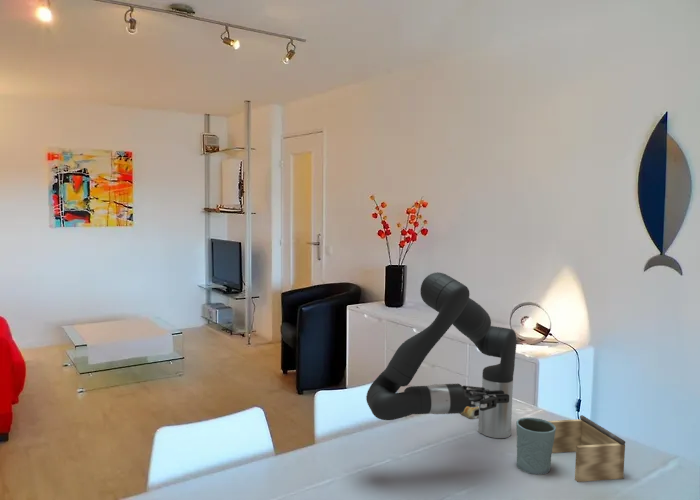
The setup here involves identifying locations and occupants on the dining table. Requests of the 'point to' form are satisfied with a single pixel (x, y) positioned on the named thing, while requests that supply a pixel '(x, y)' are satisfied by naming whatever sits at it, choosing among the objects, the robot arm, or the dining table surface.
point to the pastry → (471, 412)
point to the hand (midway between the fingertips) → (505, 396)
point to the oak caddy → (590, 449)
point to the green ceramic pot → (534, 445)
